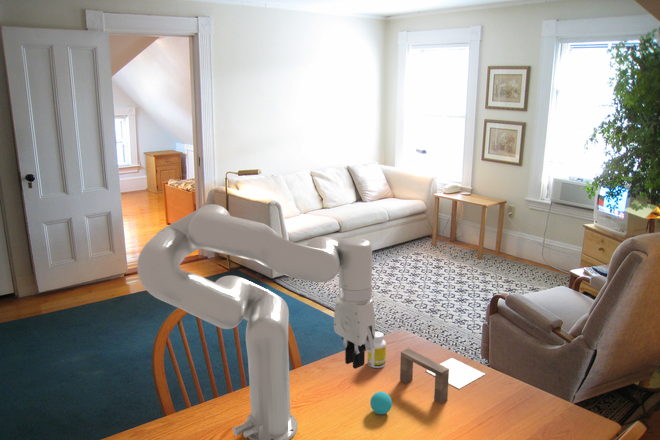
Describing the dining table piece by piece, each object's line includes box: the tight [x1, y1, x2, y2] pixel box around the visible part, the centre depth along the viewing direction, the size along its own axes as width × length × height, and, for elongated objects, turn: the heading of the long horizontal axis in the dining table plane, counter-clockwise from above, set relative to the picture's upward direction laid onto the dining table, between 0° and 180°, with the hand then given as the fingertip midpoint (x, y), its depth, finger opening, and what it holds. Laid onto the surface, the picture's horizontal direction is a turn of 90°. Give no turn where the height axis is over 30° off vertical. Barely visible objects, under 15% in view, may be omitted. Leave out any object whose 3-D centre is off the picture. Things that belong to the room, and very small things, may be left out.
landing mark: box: [425, 357, 486, 390], centre depth 153 cm, size 12×12×1 cm
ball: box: [370, 391, 393, 415], centre depth 134 cm, size 6×6×6 cm
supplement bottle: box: [367, 330, 387, 369], centre depth 157 cm, size 5×5×10 cm
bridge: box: [399, 348, 449, 405], centre depth 143 cm, size 3×14×9 cm, turn 39°
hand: (354, 363), depth 125 cm, fingers closed
